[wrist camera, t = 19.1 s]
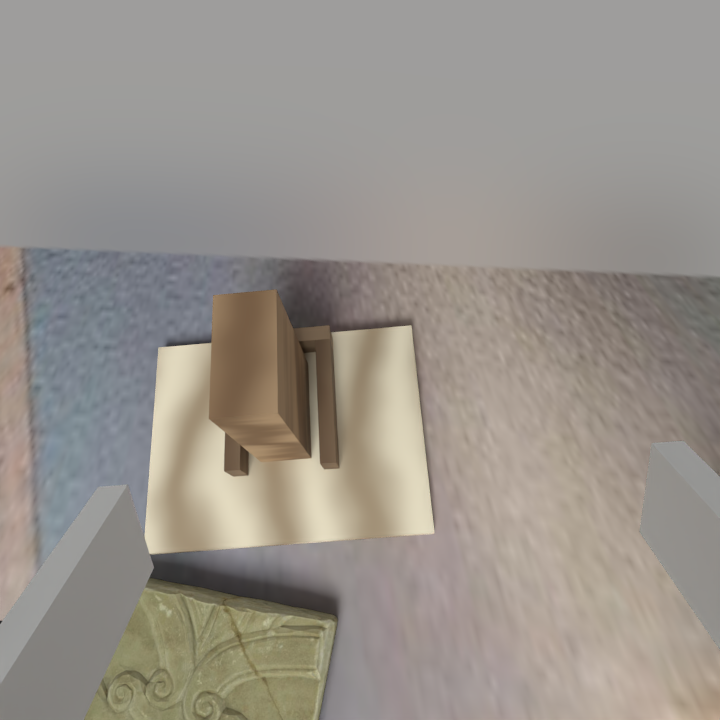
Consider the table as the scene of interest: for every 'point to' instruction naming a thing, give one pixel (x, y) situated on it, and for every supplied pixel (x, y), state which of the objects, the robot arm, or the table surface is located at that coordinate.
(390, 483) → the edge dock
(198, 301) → the table surface
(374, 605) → the table surface
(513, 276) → the table surface
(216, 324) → the brown rectangular block
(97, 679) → the robot arm
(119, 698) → the decorative tile
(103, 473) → the table surface
